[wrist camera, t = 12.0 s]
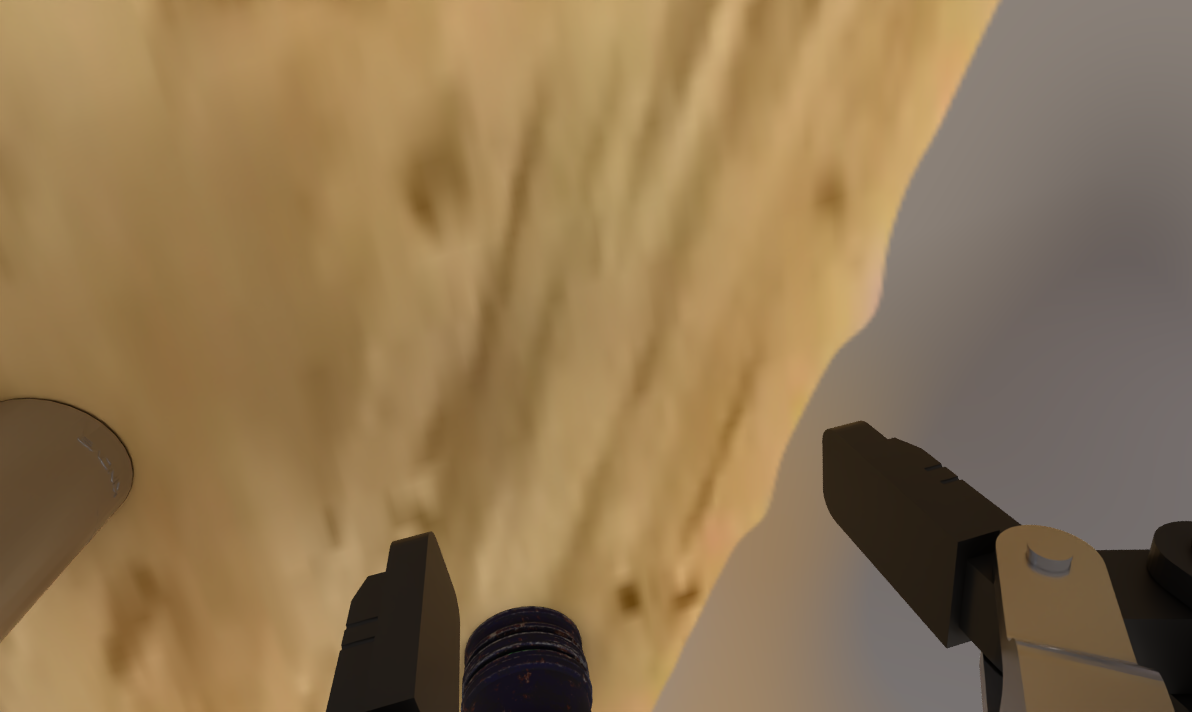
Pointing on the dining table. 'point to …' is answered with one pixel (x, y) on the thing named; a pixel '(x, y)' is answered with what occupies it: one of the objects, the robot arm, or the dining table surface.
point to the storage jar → (526, 664)
